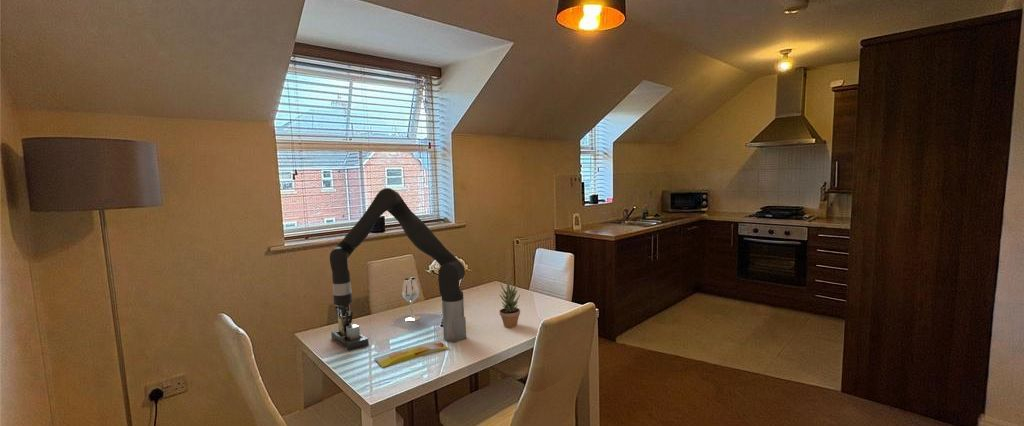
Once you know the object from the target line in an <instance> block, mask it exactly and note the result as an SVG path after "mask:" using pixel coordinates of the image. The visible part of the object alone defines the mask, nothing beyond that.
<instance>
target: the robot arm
mask: <svg viewBox="0 0 1024 426" xmlns="http://www.w3.org/2000/svg"><path fill="white" fill-rule="evenodd" d="M386 212H388V213H389V214H390V215H391V216H392V217H393V218H394V219H395V220H396V221H397V222H398V223H399V225H400V226H401V228H402V230H403V232H404V234H405V235H406V237H407V238H408V239H409V240H410V242H411V243H412V244H413V245H414V246H415V247H416V248H417V249H418V250H419V251H421V252H423V253H424V254H425V255H427V256H429V257H430V258H432V259H434V260H435V261H436V263H438V264H439V266H440V267H439V269H438V273H437V278H438V290H439V295H440V297H441V313H442V314H441V315H442V330H443V331H442V335H443V340H444V341H446V342H450V343H451V342H452V343H457V342H460V341H463V340H465V339H467V321H466V317H465V305H464V304H465V303H464V302H465V301H464V300H465V299H464V292H463V291H462V290H461V289H460V281H461V280H462V279H463V278H464V277H465V275H466V269H465V266H464V264H463V263H462V262H461V261H460V259H458V258H457V257H455V255H454V254H453V253H451V252H450V251H449V250H448V248H446V246H444V244H443V243H442V242H441V241H440V240H439V238H437V236H436V235H435V234H434V232H432V230H431V229H430V228H429V227H428V226H427V225H426V224H425V222H424V221H422V220H421V218H420V217H418V216H417V215H416V214H415V213H414V212H413V211H412V210H411V209H410V207H409V206H408V205H407V204H406V202H405V201H404V199H403V198H402V196H401V195H400V194H399V192H398V191H396V190H394V189H392V188H388V187H385V188H382V189H381V190H379V192H377V194H376V195H375V196H374V198H373V200H372V201H371V203H370V205H369V207H368V208H367V209H366V210H365V212H364V214H363V215H362V216H361V217H360V219H359V220H358V221H357V222H356V223H355V225H354V226H353V227H352V228H351V229H350V230H348V232H347V234H346V235H345V236H344V237H343V239H342V240H341V241H340V242H339V243H338V244H337V245H336V246H335V247H334V249H332V250H331V252H330V253H329V264H330V269H331V272H332V274H331V277H332V297H333V299H332V300H333V305H335V306H334V309H335V313H336V314H335V315H336V318H337V320H338V317H341V318H342V319H343V323H344V332H345V333H347V332H346V326H350V324H349V323H351V324H352V321H353V310H351V308H350V305H349V304H352V302H353V295H352V294H353V293H352V291H353V290H352V284H351V274H350V269H349V268H348V264H349V263H348V258H350V256H351V255H352V254H353V253H354V251H355V250H356V248H358V247H359V246H360V245H361V244H362V243H363V242H364V241H365V239H366V238H368V236H369V235H370V233H371V232H372V230H373V228H374V226H375V224H376V222H377V221H378V220H379V218H380V217H381V216H382V215H383V214H384V213H386ZM344 316H345V317H344ZM347 320H348V321H347Z"/></svg>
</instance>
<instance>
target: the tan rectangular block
mask: <svg viewBox="0 0 1024 426" xmlns="http://www.w3.org/2000/svg"><path fill="white" fill-rule="evenodd" d="M344 317H345V316H344ZM347 321H348V320H347ZM349 324H350V325H352V323H349ZM337 326H338V330H339V335H340V336H343V335H347V333H345V332H344V323H343V319H342V318H341V317H338V319H337Z"/></svg>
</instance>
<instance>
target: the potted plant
mask: <svg viewBox="0 0 1024 426" xmlns="http://www.w3.org/2000/svg"><path fill="white" fill-rule="evenodd" d="M505 281H506V290H505V289H504V287H503V285H502V284H500V287H501V289H502V292H501V294H502V295H501V294H499V296H500V298H501V299H502V301H501V303H502V307H503V308H500V310H499V312H498V313H499V316H500V317H501V320H502V323H503V327H504V328H507V329H513V328H516V327H517V326H518V322H519V318H520V317H519V316H520V315H521V309H520V308H518V306H519V305H517V304H518V303H519V298H520V296H521V294H519V295H518V297H517V298H516V296H517V294H518V290H517V284H515V286H514V285H513V284H514V283H513V281H512V282H511V287H510V282H509V281H510V280H509V275H508V274H507V273H506V274H505ZM515 298H516V299H515Z"/></svg>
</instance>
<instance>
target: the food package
mask: <svg viewBox="0 0 1024 426" xmlns="http://www.w3.org/2000/svg"><path fill="white" fill-rule="evenodd" d="M448 349H449V346H447V345H446V344H444V342H441V341H440V340H435V341H428V342H425V343H420V344H417V345H414V346H410V347H406V348H402V349H399V350H395V351H391V352H388V353H385V354H383V355H379V356H377V357H374V360H375V361H376V363H378V365H380V367H381V368H386V367H389V366H392V365H393V366H394V365H396V364H400V363H403V362H406V361H409V360H412V359H416V358H419V357H423V356H427V355H431V354H433V353H437V352H441V351H442V352H443V351H445V350H448Z"/></svg>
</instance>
